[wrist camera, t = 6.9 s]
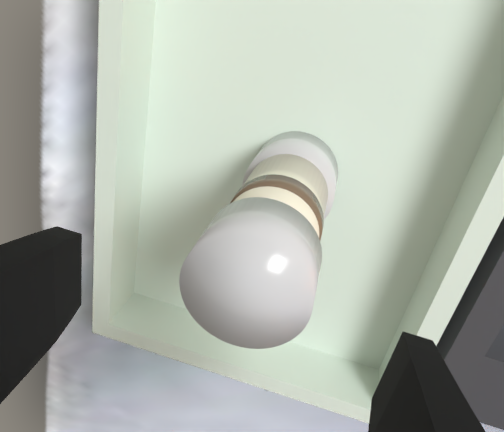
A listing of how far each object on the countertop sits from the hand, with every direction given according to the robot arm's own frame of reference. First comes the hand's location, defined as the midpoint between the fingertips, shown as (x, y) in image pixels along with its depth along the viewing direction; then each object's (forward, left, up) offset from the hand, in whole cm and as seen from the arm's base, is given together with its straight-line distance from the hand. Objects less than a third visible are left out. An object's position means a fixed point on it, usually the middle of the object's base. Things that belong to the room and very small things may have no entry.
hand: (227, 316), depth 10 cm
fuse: (0, 0, -9) cm, 9 cm away
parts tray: (+1, 0, -9) cm, 9 cm away
